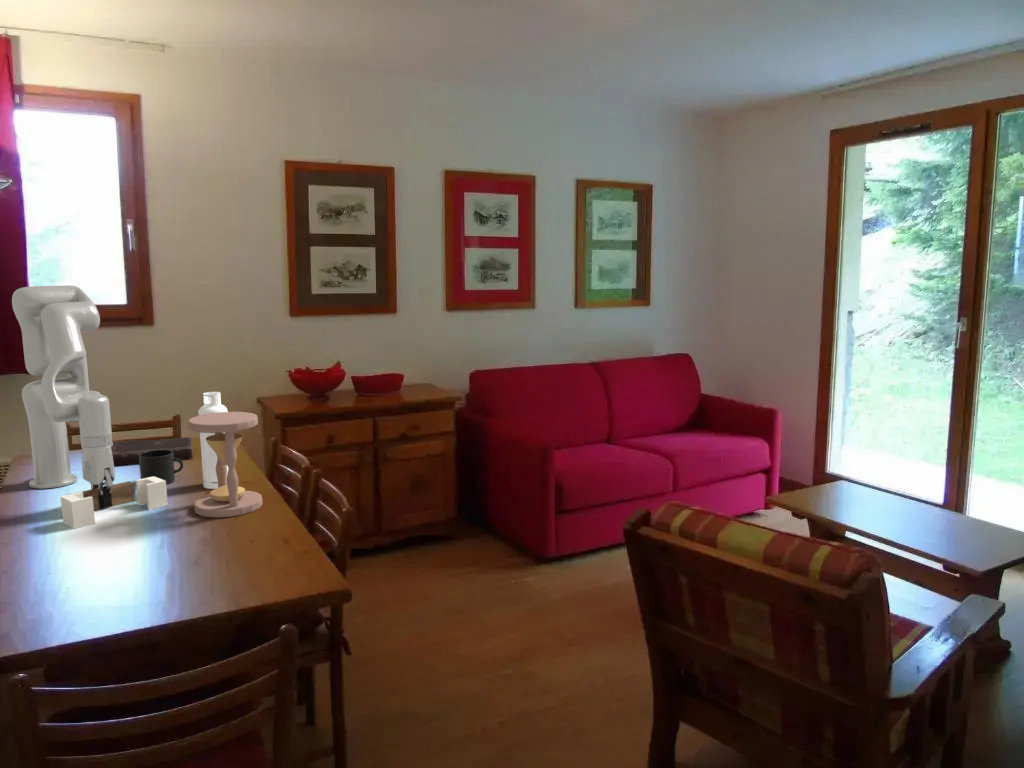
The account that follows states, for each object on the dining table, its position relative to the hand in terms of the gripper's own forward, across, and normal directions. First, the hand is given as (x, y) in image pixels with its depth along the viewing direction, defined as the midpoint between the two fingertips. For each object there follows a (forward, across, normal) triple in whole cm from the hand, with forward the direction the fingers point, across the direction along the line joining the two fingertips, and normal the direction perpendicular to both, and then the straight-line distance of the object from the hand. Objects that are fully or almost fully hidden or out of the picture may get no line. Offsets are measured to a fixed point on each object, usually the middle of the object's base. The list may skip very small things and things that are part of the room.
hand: (102, 505), depth 211 cm
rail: (0, 0, 0) cm, 0 cm away
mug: (+1, -11, +22) cm, 25 cm away
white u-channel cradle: (0, +9, 0) cm, 9 cm away
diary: (+1, -43, +34) cm, 55 cm away
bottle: (+1, +5, +31) cm, 31 cm away
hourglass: (+1, +27, +22) cm, 35 cm away
